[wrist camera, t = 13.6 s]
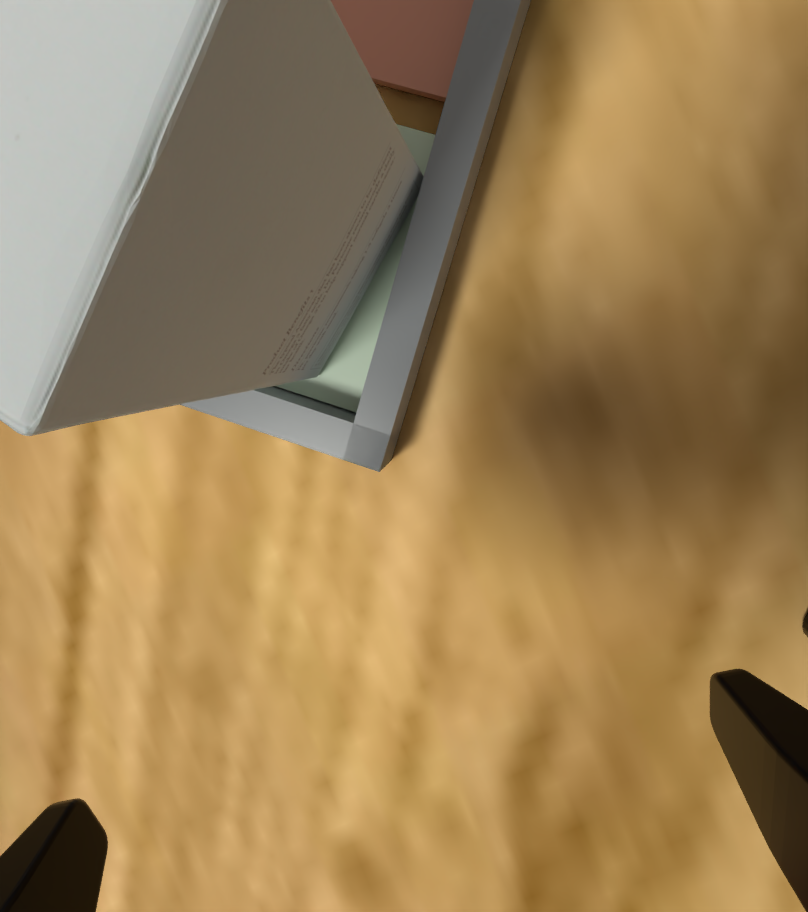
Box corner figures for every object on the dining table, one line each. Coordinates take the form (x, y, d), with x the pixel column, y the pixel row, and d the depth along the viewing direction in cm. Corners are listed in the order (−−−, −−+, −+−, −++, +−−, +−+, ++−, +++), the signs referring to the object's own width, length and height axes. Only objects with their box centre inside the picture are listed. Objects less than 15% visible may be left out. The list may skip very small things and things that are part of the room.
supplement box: (232, 56, 19) (-275, -474, 7) (433, 181, 19) (290, -132, 6) (133, 269, 21) (-412, 160, 8) (315, 387, 20) (24, 452, 8)
